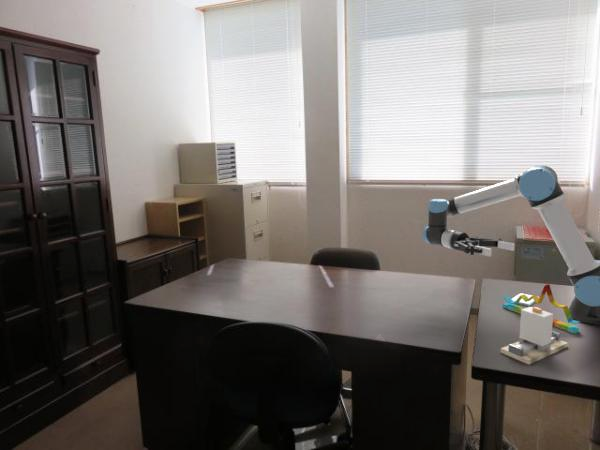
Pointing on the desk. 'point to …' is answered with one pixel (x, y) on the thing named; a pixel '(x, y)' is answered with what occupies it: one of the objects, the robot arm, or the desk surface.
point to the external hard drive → (523, 300)
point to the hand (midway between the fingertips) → (502, 250)
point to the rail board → (535, 352)
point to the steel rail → (529, 345)
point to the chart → (539, 300)
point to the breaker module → (536, 327)
